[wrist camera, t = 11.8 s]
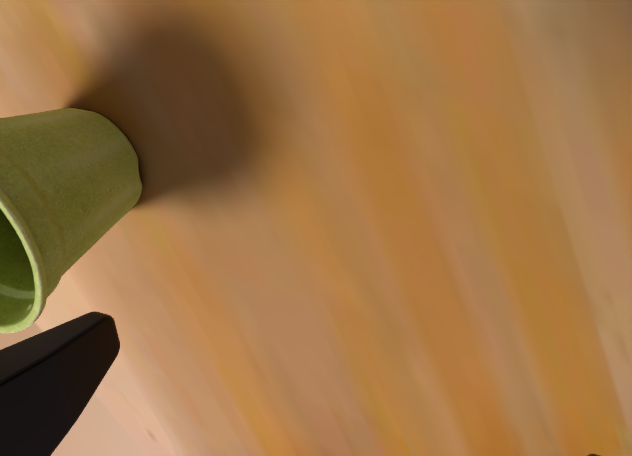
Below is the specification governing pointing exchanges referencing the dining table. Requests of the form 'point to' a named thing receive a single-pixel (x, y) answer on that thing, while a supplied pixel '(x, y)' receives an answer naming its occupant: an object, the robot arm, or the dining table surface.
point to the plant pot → (56, 201)
